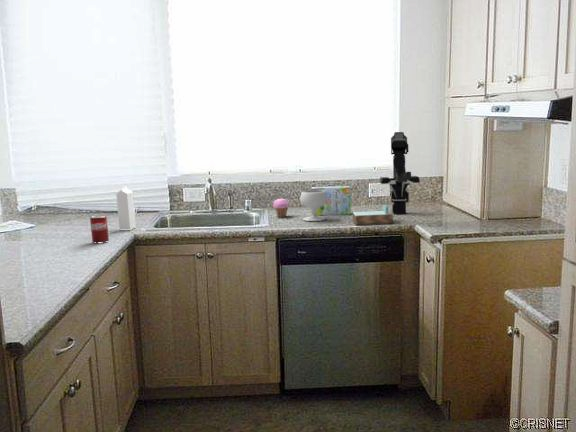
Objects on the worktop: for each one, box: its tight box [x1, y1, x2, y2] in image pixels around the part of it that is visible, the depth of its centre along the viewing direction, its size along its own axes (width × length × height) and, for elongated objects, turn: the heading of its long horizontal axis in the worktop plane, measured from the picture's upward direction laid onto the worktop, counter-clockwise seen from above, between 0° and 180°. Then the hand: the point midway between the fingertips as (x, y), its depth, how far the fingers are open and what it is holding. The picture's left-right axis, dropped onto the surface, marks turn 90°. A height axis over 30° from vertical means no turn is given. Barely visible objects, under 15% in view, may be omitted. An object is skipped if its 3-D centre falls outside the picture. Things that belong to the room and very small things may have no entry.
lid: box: [352, 204, 391, 217], centre depth 291 cm, size 17×10×4 cm, turn 91°
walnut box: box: [352, 210, 394, 226], centre depth 292 cm, size 18×12×5 cm, turn 91°
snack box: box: [310, 185, 352, 216], centre depth 319 cm, size 21×6×15 cm, turn 84°
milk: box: [115, 185, 137, 230], centre depth 297 cm, size 6×6×22 cm
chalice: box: [299, 189, 327, 222], centre depth 305 cm, size 14×14×15 cm
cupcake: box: [272, 198, 290, 218], centre depth 318 cm, size 9×9×10 cm
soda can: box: [89, 214, 110, 243], centre depth 269 cm, size 7×7×12 cm
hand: (399, 197), depth 290 cm, fingers open, 3 cm apart
